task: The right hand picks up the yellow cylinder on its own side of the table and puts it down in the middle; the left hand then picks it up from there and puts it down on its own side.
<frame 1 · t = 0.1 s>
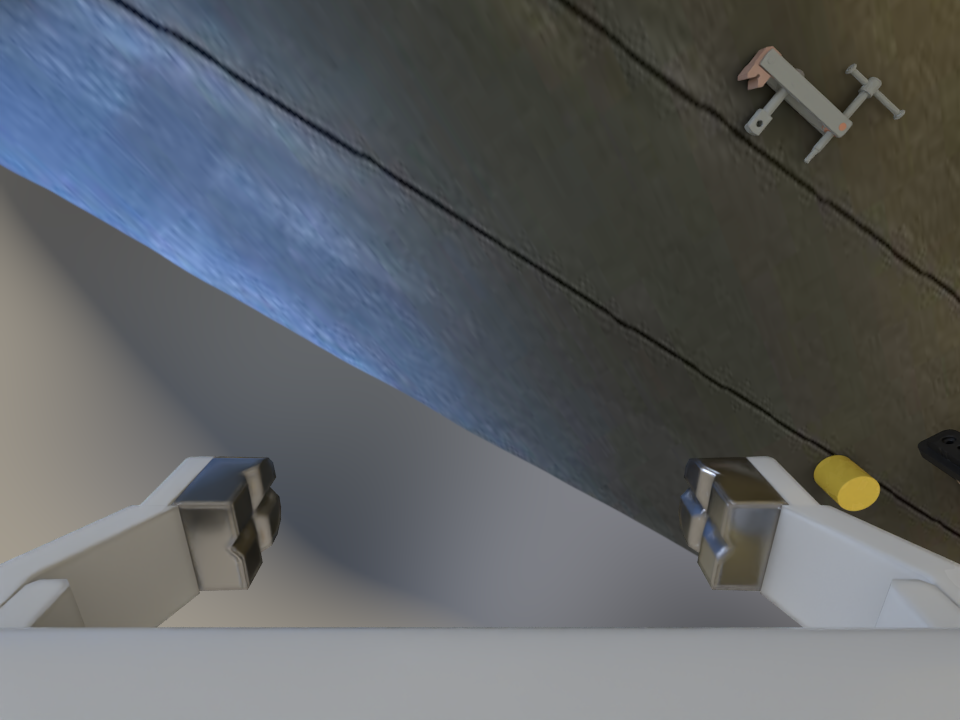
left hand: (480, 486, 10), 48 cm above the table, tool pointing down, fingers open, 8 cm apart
clamp: (804, 108, 51), on the table
yellow cylinder: (833, 471, 66), on the table
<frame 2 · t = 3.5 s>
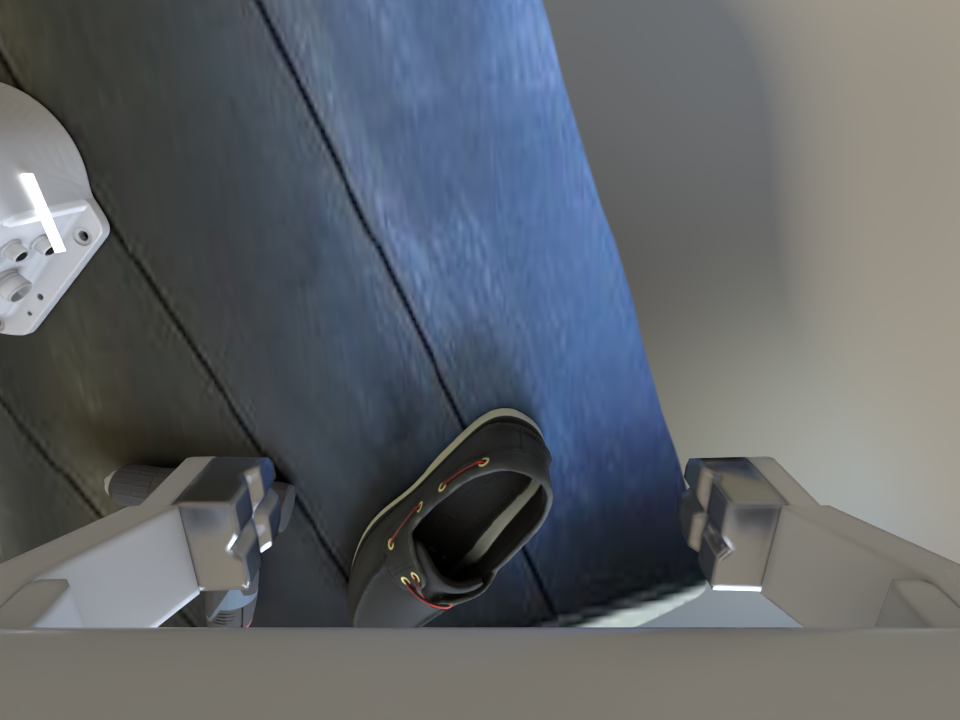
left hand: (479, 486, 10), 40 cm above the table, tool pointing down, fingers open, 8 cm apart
boat shoe: (443, 519, 59), on the table
power drill: (211, 531, 60), on the table
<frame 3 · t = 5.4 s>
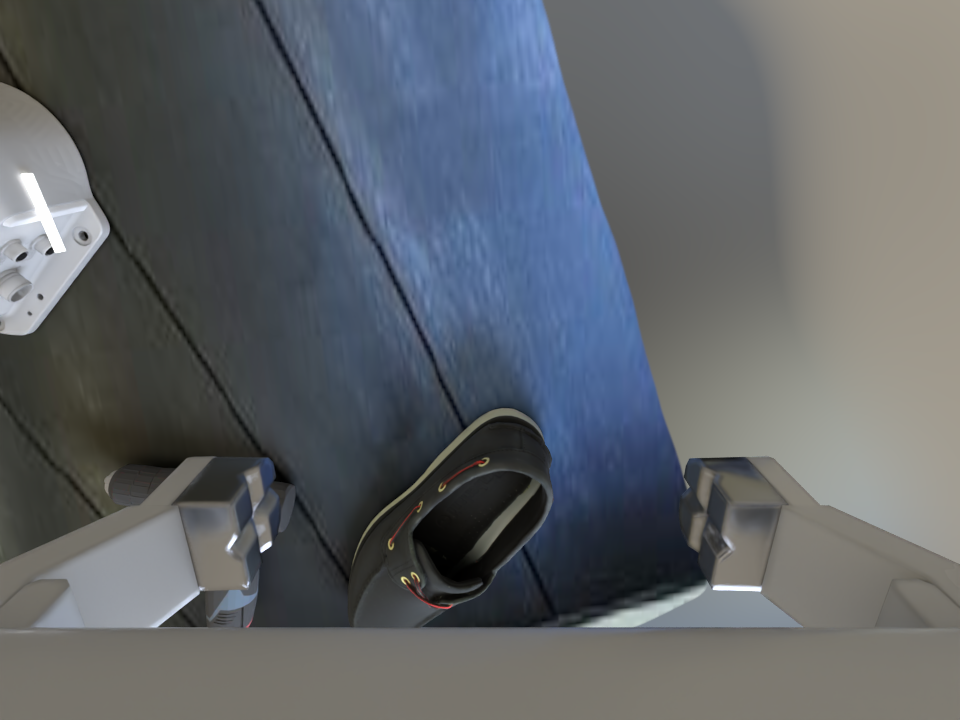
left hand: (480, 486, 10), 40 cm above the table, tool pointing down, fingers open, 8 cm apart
boat shoe: (444, 519, 59), on the table
power drill: (211, 531, 60), on the table
when the right hand's fingers open (1 cm above the table, at t = 7.2 s): yellow cylinder stays where it is, on the table.
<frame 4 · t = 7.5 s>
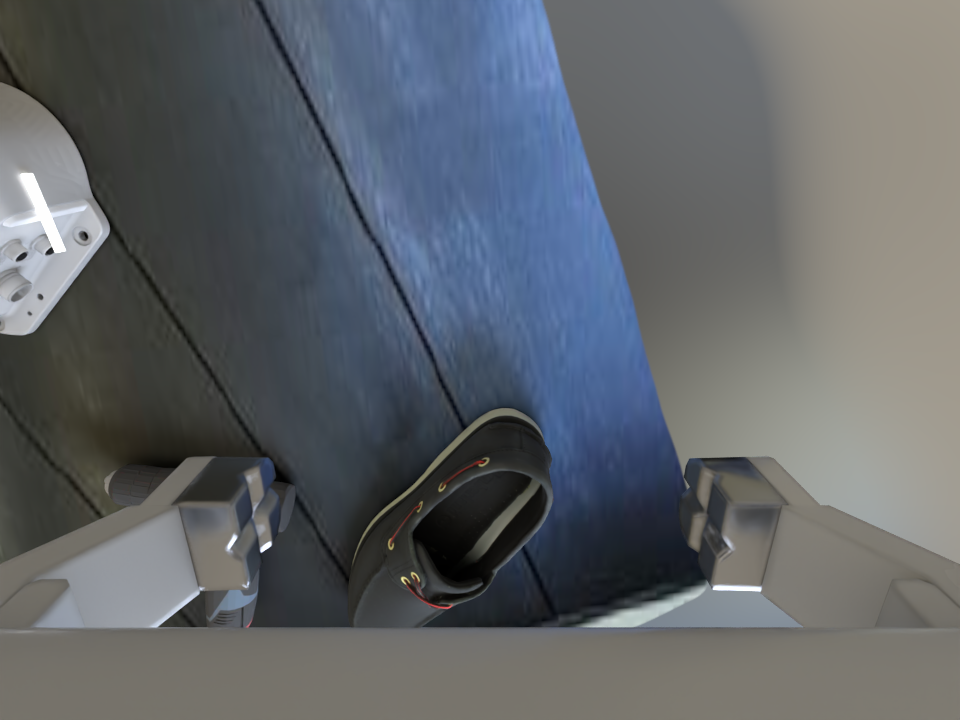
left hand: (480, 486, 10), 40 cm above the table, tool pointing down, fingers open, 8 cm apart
boat shoe: (444, 519, 59), on the table
power drill: (211, 531, 60), on the table
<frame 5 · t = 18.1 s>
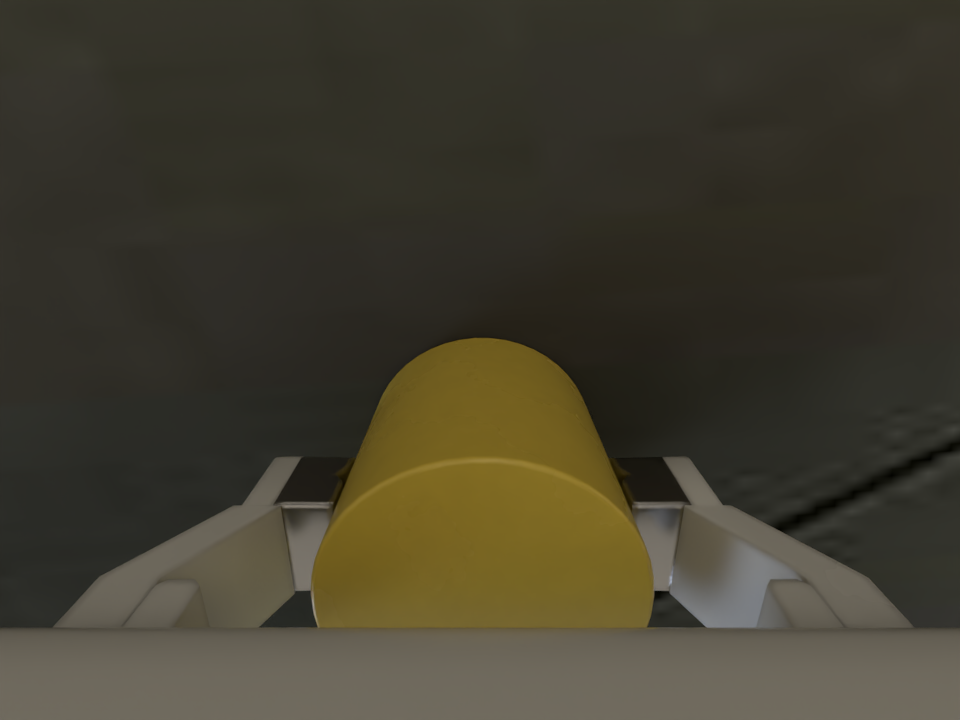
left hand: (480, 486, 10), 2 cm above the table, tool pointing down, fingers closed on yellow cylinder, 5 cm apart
yellow cylinder: (481, 438, 12), on the table, touching left hand
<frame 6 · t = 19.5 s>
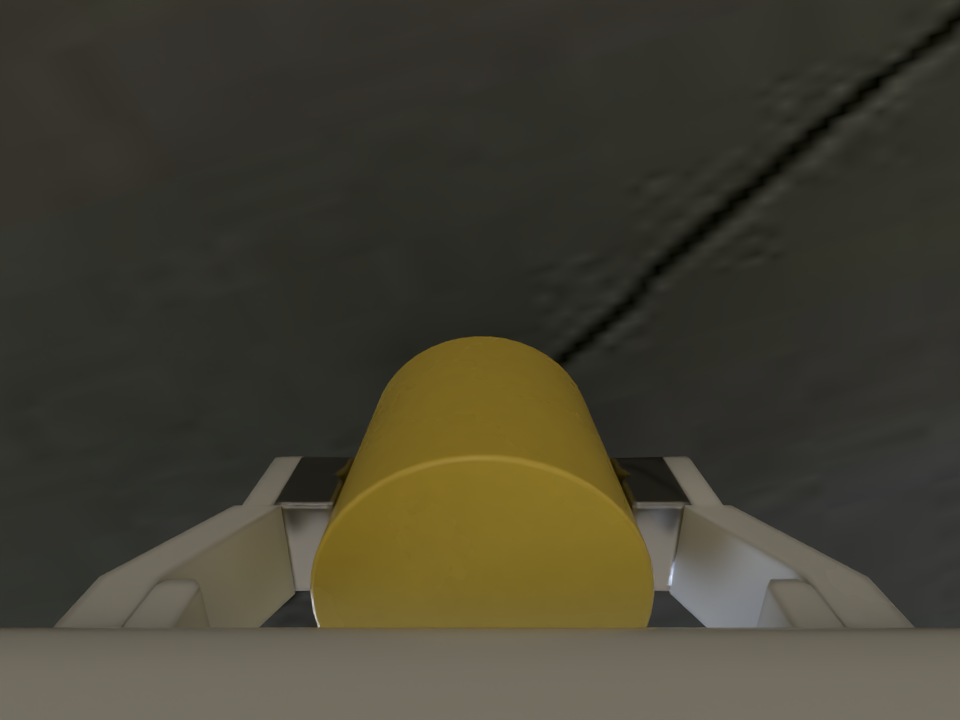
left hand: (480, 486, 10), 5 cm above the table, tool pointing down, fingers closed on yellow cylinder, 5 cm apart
yellow cylinder: (481, 437, 12), point 3 cm above the table, touching left hand
when the left hand's fingers open (2 cm above the table, at t = 21.1 s): yellow cylinder stays where it is, on the table.
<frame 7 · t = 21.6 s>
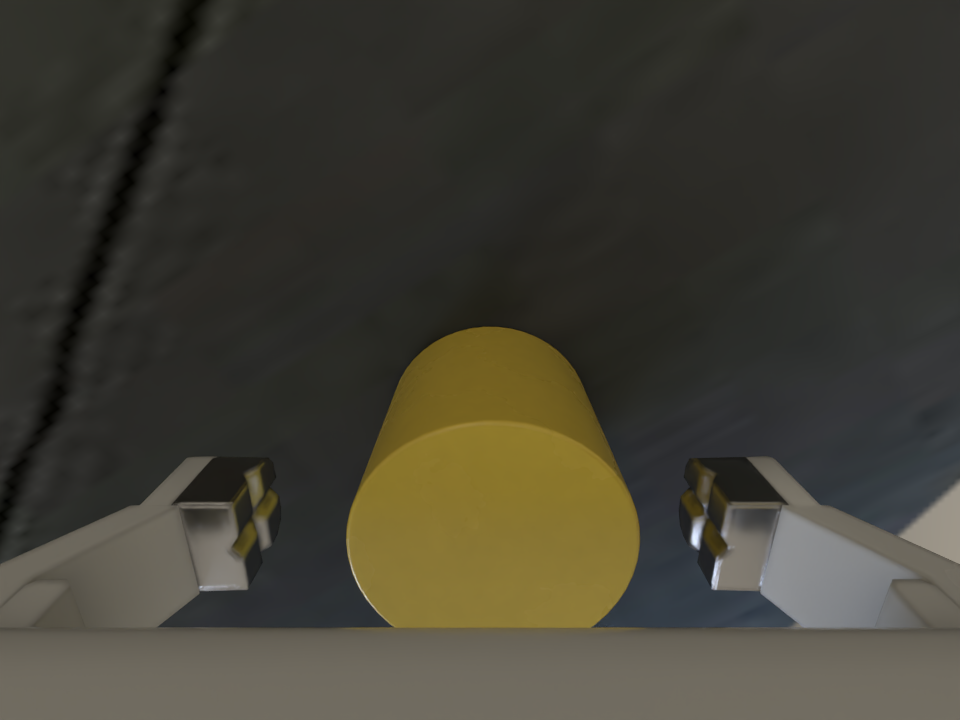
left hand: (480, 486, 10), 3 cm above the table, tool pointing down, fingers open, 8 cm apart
yellow cylinder: (489, 418, 13), on the table
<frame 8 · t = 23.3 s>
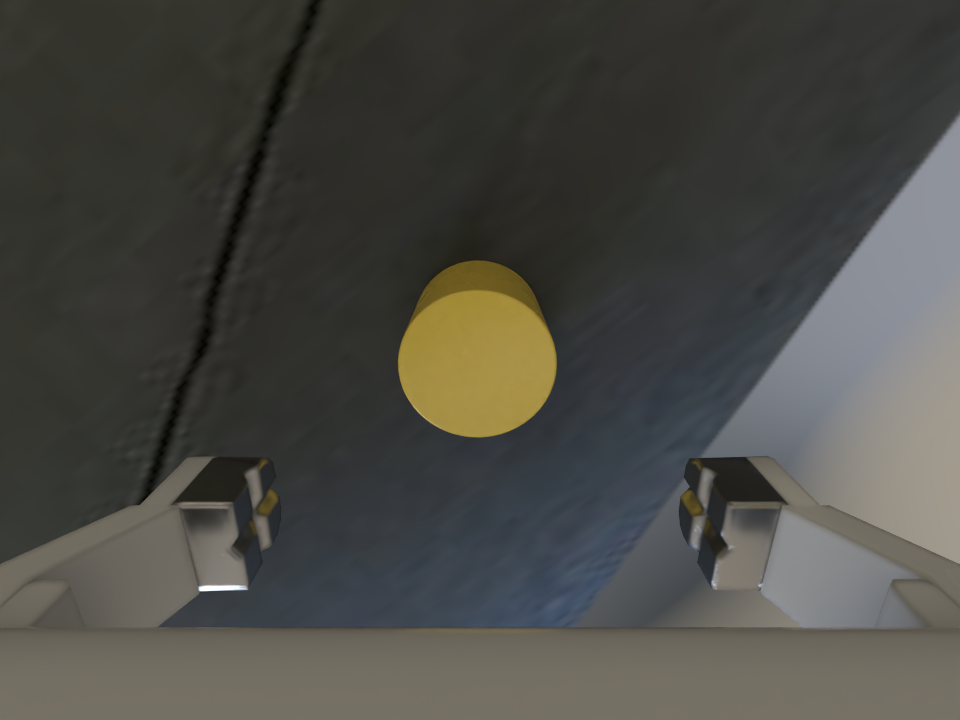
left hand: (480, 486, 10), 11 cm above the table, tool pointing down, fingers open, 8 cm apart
yellow cylinder: (477, 322, 20), on the table
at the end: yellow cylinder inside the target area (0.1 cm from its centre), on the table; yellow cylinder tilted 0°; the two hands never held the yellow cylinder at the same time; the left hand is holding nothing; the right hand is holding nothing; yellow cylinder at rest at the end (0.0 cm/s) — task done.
